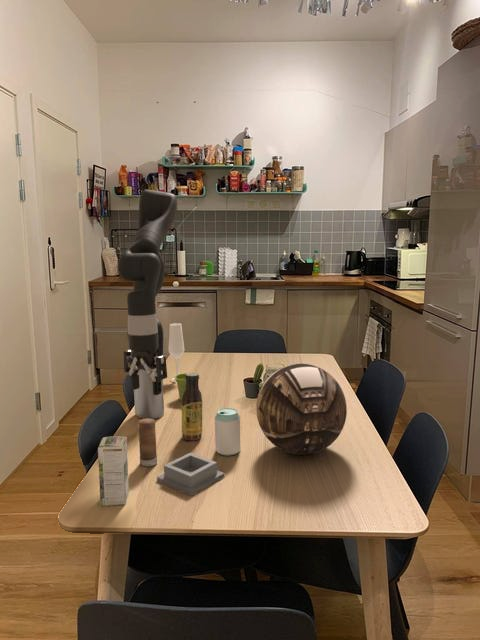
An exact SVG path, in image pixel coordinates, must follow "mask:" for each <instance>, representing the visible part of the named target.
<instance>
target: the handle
mask: <svg viewBox="0 0 480 640" xmlns="http://www.w3.org/2000/svg"><path fill="white" fill-rule="evenodd" d="M137 423H138V425H137V426H138V442H139V445H138V446H139V464H140V466H141V467H142V468H146V469H147V468H153V467H155V466H157V464H158V455H157V437H156V436H157V435H156V433H157V432H156V420H155V419H140V420H138V422H137Z"/></svg>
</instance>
